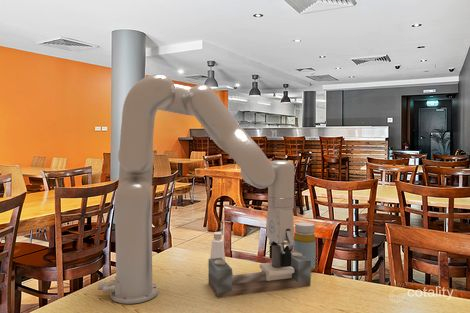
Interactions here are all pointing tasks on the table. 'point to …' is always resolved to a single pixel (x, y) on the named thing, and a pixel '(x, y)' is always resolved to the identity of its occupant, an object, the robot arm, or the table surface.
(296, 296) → the table surface
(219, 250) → the pepper shaker
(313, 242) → the bottle
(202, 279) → the table surface
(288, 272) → the carriage
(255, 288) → the rail track
